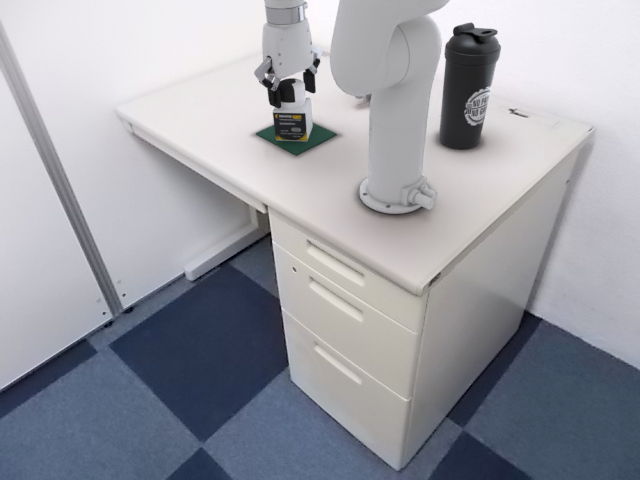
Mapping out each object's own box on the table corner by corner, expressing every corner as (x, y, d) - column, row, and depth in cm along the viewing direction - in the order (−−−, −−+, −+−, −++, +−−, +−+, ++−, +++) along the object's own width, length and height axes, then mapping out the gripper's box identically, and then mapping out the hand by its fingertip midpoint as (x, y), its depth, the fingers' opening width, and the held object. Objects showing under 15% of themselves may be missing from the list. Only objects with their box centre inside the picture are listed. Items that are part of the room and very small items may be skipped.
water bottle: (458, 156, 100) (476, 41, 85) (424, 137, 107) (435, 27, 92) (494, 142, 104) (516, 28, 89) (459, 124, 111) (475, 16, 96)
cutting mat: (336, 135, 110) (336, 133, 109) (296, 155, 104) (296, 154, 103) (295, 116, 118) (295, 114, 117) (255, 134, 112) (255, 132, 111)
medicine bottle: (275, 141, 108) (269, 88, 100) (282, 125, 113) (277, 74, 106) (307, 142, 107) (303, 89, 99) (313, 126, 112) (309, 75, 105)
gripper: (306, 0, 101) (311, 82, 112) (237, 21, 92) (250, 107, 103) (331, 6, 96) (334, 90, 107) (262, 29, 88) (272, 118, 99)
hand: (293, 98), depth 105 cm, fingers open, 9 cm apart
